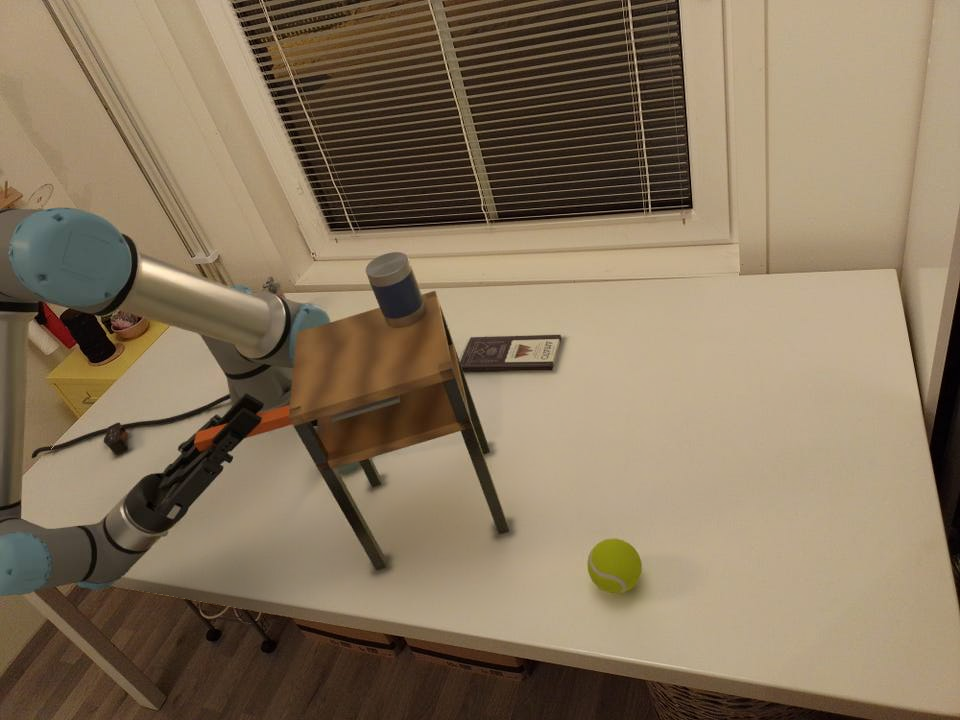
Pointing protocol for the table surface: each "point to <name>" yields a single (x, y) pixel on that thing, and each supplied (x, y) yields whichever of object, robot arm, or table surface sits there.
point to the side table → (376, 376)
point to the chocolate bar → (511, 353)
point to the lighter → (273, 287)
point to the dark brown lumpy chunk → (116, 438)
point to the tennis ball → (614, 566)
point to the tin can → (396, 289)
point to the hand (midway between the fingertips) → (253, 407)
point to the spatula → (285, 421)
